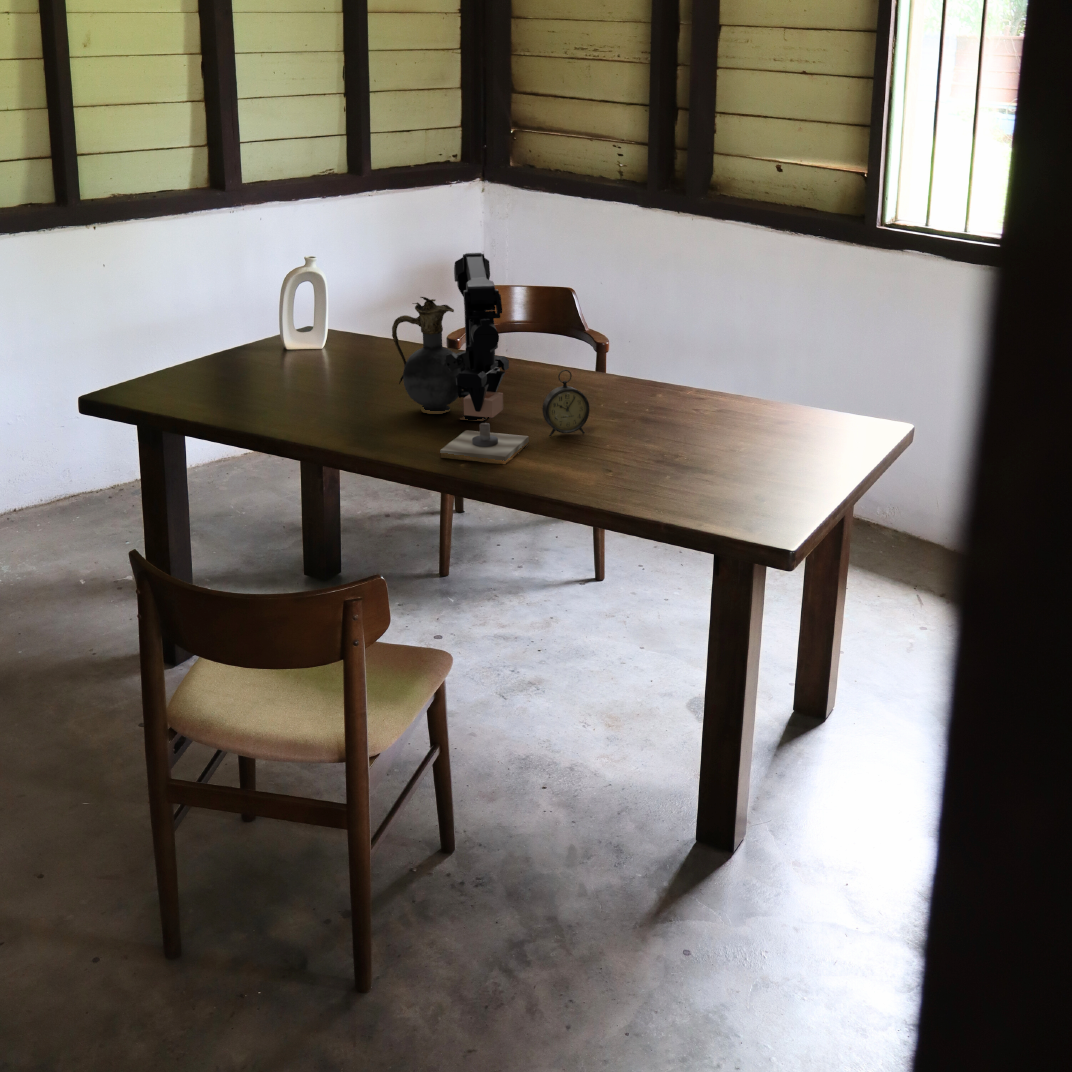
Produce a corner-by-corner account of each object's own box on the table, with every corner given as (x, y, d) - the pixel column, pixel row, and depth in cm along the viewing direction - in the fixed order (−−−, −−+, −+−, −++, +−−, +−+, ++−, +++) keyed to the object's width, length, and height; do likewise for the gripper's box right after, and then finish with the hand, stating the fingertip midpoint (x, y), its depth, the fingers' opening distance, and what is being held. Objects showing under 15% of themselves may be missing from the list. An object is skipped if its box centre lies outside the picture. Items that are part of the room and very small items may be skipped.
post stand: (466, 438, 287) (465, 412, 284) (528, 444, 282) (528, 417, 279) (440, 458, 273) (439, 431, 270) (505, 465, 268) (505, 437, 265)
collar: (475, 406, 278) (474, 390, 276) (503, 409, 276) (502, 392, 274) (464, 415, 272) (463, 398, 270) (492, 417, 270) (492, 400, 268)
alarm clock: (546, 439, 285) (546, 374, 279) (540, 433, 290) (540, 368, 284) (589, 435, 288) (590, 370, 282) (583, 429, 293) (583, 365, 286)
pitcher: (454, 419, 301) (450, 302, 290) (387, 413, 307) (380, 297, 296) (471, 408, 310) (468, 294, 299) (405, 402, 316) (399, 289, 305)
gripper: (464, 329, 278) (466, 394, 284) (432, 347, 262) (435, 415, 268) (509, 332, 275) (510, 397, 281) (479, 350, 258) (481, 419, 264)
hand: (483, 407), depth 273 cm, fingers closed on collar, 7 cm apart
